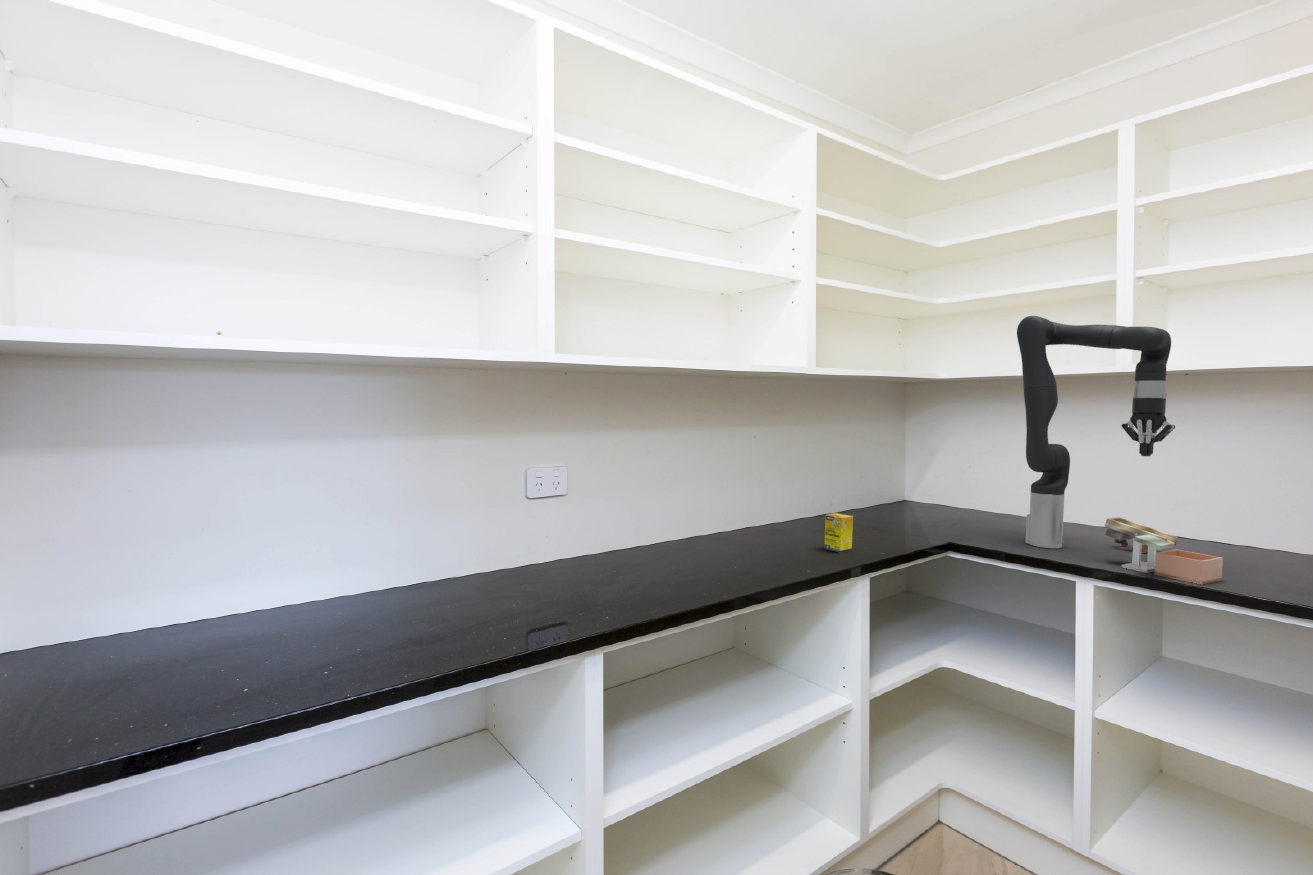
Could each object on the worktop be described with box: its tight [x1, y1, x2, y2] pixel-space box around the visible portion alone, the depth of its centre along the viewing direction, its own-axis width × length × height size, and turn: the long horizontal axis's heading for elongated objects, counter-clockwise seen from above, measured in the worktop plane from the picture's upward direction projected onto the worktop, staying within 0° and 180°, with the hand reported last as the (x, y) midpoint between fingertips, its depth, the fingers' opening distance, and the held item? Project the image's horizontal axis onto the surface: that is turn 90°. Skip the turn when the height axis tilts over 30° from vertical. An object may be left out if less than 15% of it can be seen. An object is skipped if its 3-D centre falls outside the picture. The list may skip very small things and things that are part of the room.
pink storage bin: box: [1154, 548, 1224, 586], centre depth 159 cm, size 10×10×6 cm
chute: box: [1104, 516, 1179, 551], centre depth 167 cm, size 17×13×5 cm
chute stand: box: [1121, 533, 1157, 574], centre depth 168 cm, size 6×10×10 cm, turn 116°
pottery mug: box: [1114, 538, 1148, 555], centre depth 192 cm, size 12×10×8 cm
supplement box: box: [824, 512, 854, 554], centre depth 185 cm, size 6×6×11 cm
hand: (1146, 456), depth 175 cm, fingers closed
